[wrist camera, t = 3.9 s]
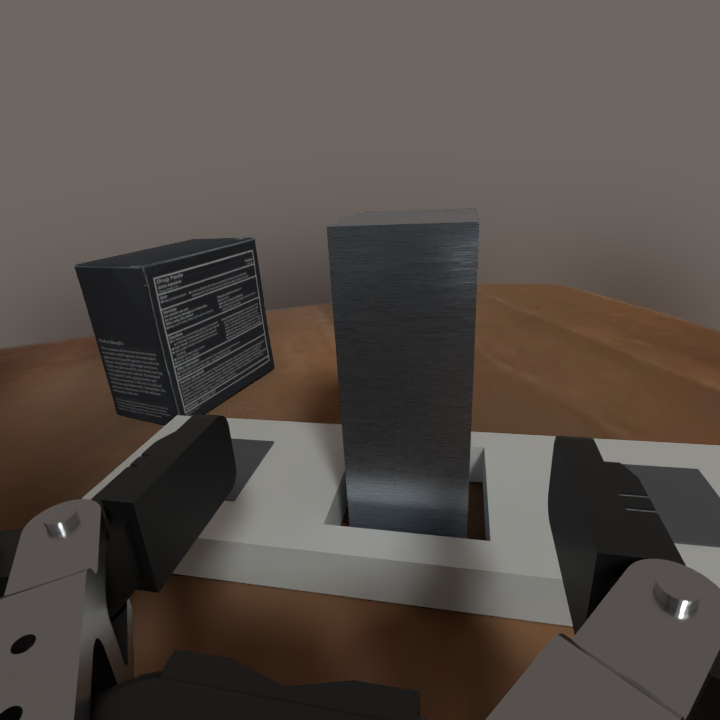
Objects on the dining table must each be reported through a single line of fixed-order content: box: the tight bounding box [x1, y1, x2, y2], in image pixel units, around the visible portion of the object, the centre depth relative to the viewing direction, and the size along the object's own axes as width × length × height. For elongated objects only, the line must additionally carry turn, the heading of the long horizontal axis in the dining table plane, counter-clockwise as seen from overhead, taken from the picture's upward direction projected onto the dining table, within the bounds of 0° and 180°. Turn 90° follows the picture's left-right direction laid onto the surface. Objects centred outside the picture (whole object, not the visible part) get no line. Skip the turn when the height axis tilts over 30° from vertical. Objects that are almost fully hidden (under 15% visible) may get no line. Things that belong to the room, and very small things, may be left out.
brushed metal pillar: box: [327, 208, 479, 539], centre depth 19 cm, size 5×5×13 cm
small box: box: [75, 238, 274, 425], centre depth 34 cm, size 11×6×10 cm, turn 155°
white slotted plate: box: [82, 415, 720, 627], centre depth 21 cm, size 28×9×2 cm, turn 78°
